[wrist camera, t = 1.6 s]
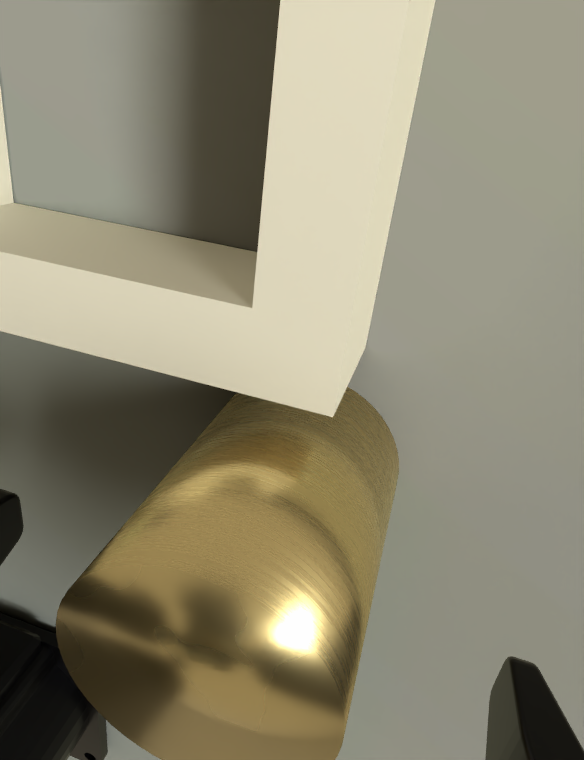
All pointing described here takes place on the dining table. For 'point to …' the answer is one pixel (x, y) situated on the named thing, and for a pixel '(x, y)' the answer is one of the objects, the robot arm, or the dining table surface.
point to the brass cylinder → (240, 588)
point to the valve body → (276, 234)
